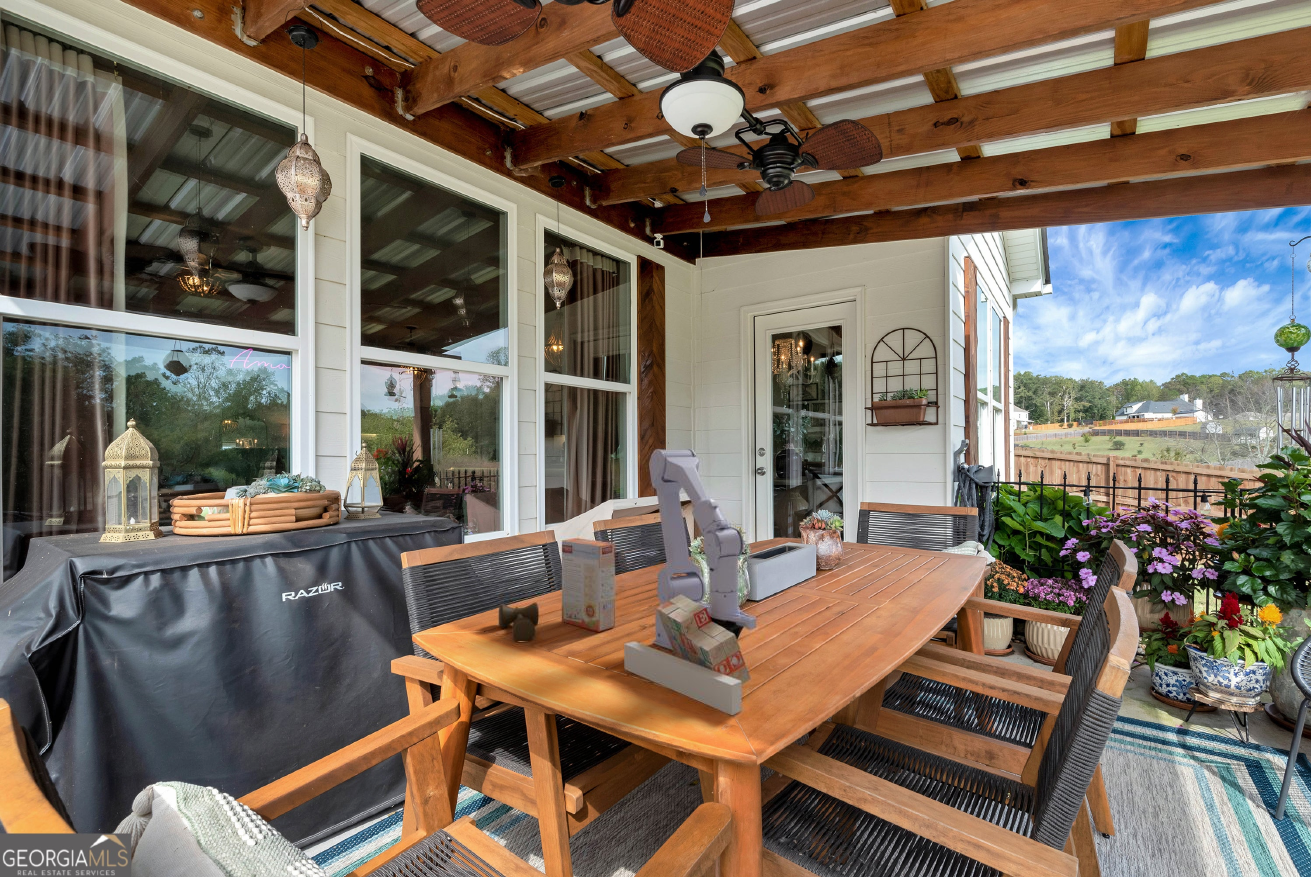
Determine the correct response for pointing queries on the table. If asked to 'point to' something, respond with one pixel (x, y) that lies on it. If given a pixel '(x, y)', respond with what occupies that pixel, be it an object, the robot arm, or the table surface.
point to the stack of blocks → (701, 638)
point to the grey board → (684, 677)
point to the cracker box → (588, 583)
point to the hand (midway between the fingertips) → (724, 656)
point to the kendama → (520, 620)
